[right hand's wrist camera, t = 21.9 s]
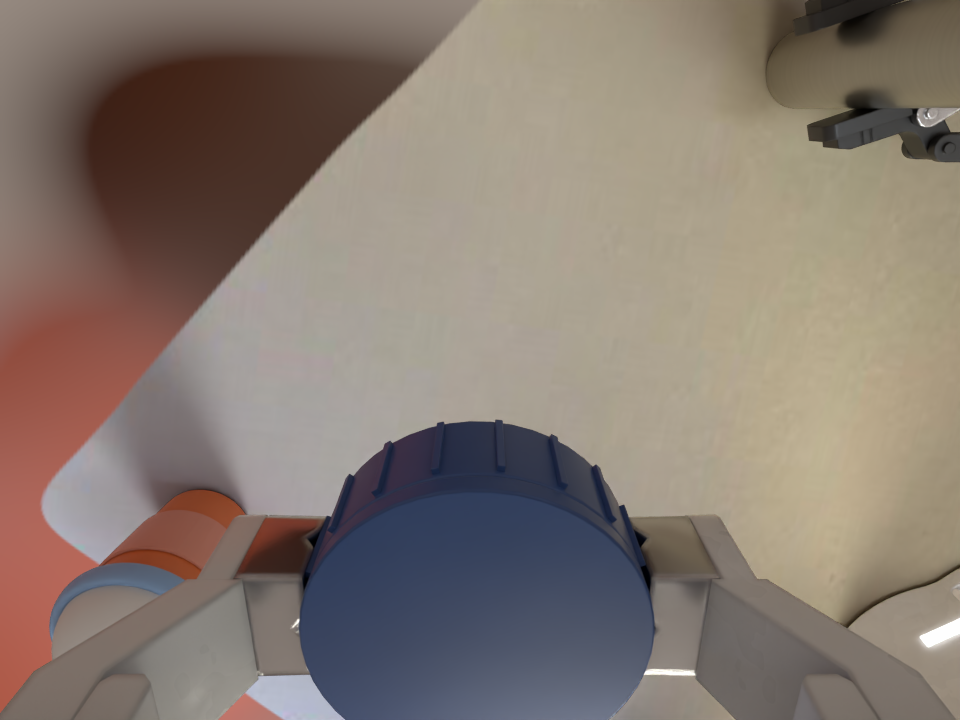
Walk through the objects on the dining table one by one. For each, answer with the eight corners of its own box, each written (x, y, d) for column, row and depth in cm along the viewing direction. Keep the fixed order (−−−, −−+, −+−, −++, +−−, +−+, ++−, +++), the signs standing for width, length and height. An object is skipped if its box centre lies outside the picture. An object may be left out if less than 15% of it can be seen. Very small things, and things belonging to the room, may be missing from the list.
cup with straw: (161, 449, 43) (-43, 667, 26) (289, 499, 44) (174, 735, 28) (127, 550, 46) (-75, 803, 29) (248, 593, 47) (122, 858, 31)
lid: (280, 604, 11) (242, 700, 9) (405, 362, 9) (387, 421, 8) (534, 703, 12) (544, 808, 10) (689, 496, 10) (734, 578, 8)
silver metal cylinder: (854, 74, 35) (1212, 40, 18) (788, 124, 36) (1069, 137, 19) (818, 9, 34) (1163, -94, 17) (751, 63, 35) (1014, 17, 18)
